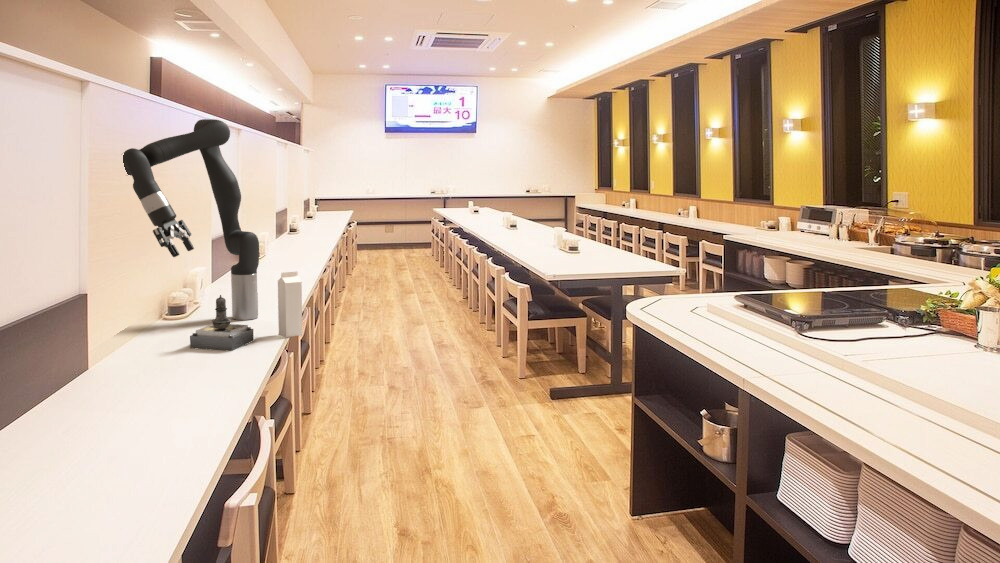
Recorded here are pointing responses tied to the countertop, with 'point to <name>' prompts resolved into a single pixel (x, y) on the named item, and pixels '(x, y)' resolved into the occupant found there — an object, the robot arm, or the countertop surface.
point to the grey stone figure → (221, 316)
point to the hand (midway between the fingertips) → (184, 253)
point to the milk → (290, 304)
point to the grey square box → (221, 337)
